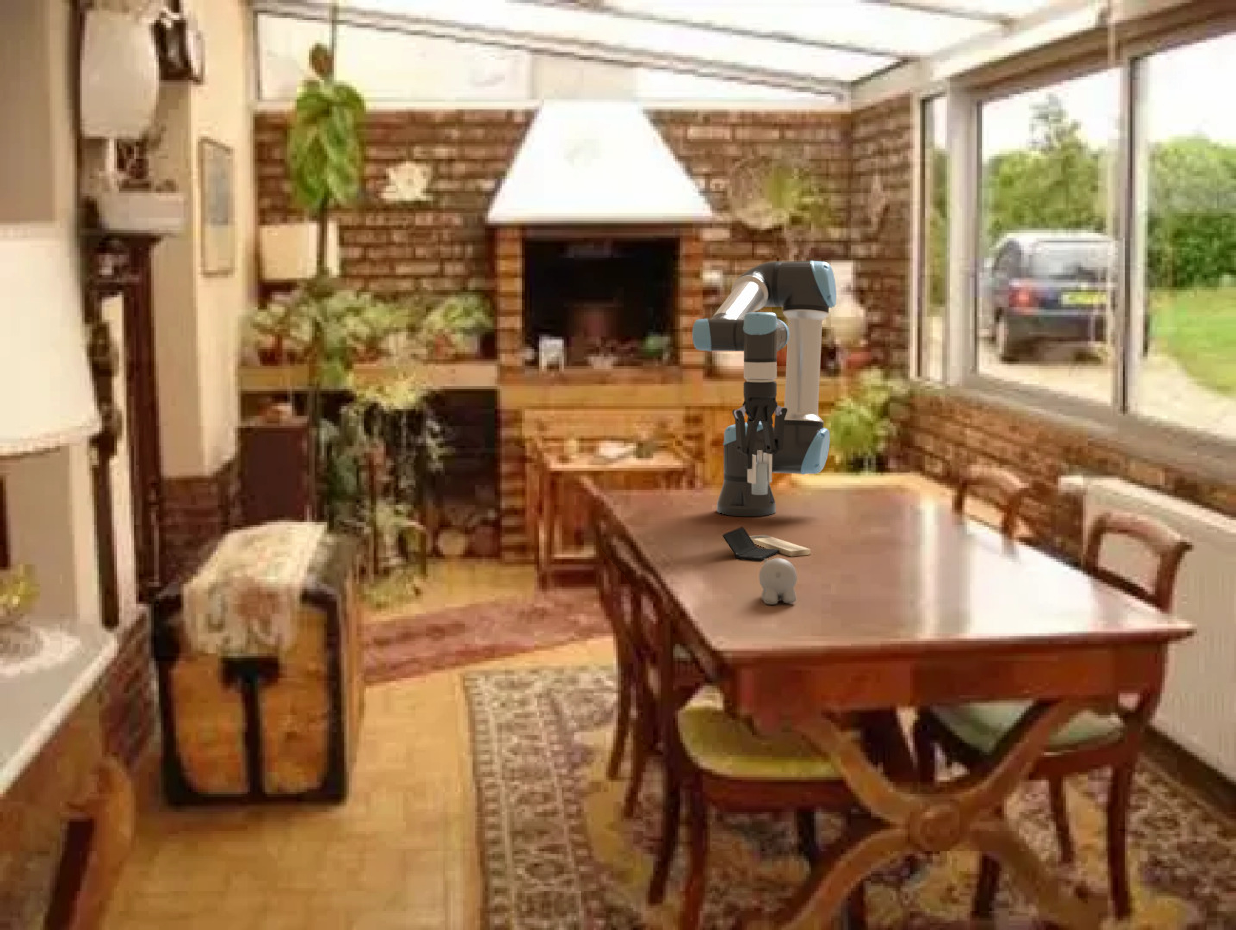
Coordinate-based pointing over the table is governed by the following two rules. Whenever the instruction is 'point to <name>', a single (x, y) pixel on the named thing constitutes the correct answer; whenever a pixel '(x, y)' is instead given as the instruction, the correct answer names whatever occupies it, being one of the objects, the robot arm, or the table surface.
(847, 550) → the table surface
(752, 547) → the handheld gaming console
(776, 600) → the toy rhinoceros
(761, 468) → the grey bottle
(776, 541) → the batten
